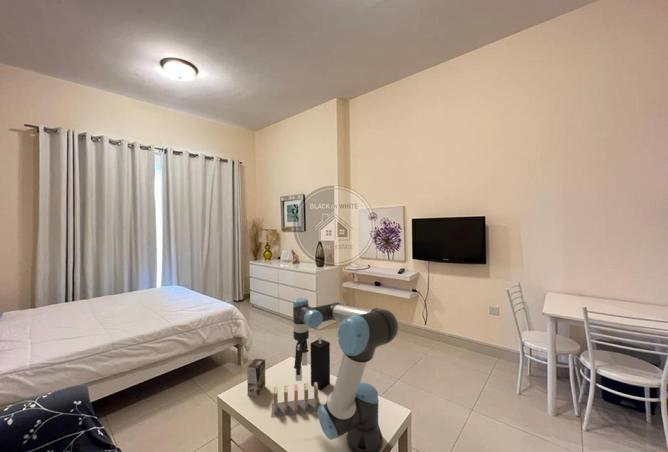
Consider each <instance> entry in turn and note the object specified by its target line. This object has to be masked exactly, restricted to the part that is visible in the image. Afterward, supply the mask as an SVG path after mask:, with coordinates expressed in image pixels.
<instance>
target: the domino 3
mask: <svg viewBox="0 0 668 452" xmlns="http://www.w3.org/2000/svg"><path fill="white" fill-rule="evenodd" d="M293 387H294V388H293V392H294V397H293V398H294V400H293V401H294V404H295V411H298V400H299V395H298V394H299V392H298V391H299V388H298V384H294V385H293Z"/></svg>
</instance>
